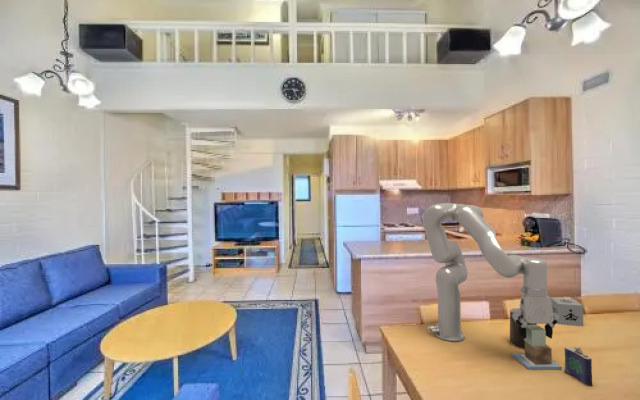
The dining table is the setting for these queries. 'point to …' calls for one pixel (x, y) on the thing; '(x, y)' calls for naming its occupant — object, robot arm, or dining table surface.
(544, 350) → the walnut block
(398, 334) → the dining table surface
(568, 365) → the flask
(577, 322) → the icon cube
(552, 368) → the blueprint board
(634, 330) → the dining table surface
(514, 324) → the pillar candle
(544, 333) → the green block
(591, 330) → the dining table surface
